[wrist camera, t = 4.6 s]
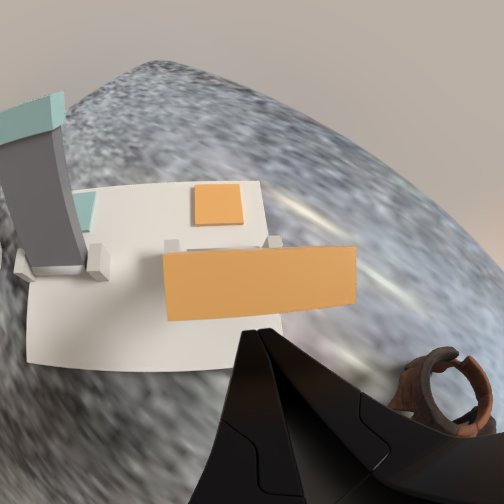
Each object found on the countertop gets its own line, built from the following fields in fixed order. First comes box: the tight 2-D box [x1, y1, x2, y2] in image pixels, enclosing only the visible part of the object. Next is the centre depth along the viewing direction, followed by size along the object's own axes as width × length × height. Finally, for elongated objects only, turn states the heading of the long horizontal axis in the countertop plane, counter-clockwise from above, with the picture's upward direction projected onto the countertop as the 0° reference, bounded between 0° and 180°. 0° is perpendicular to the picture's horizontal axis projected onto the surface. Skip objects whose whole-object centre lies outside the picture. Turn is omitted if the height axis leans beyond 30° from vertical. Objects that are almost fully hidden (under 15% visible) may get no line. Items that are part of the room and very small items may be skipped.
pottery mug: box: [388, 346, 496, 438], centre depth 13 cm, size 12×10×8 cm
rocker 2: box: [163, 246, 356, 321], centre depth 11 cm, size 1×4×10 cm, turn 96°
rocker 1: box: [0, 91, 89, 275], centre depth 10 cm, size 1×4×10 cm, turn 97°
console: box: [14, 181, 283, 372], centre depth 15 cm, size 12×16×4 cm
